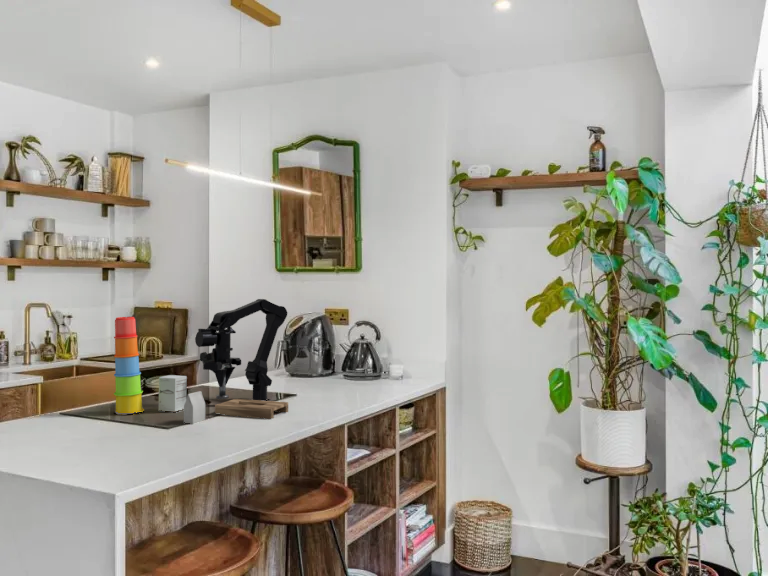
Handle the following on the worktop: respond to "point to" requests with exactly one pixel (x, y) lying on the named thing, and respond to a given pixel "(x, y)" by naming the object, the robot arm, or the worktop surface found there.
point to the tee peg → (222, 391)
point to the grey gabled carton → (194, 408)
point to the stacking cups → (127, 367)
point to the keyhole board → (251, 408)
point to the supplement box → (172, 392)
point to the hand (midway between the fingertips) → (222, 386)
